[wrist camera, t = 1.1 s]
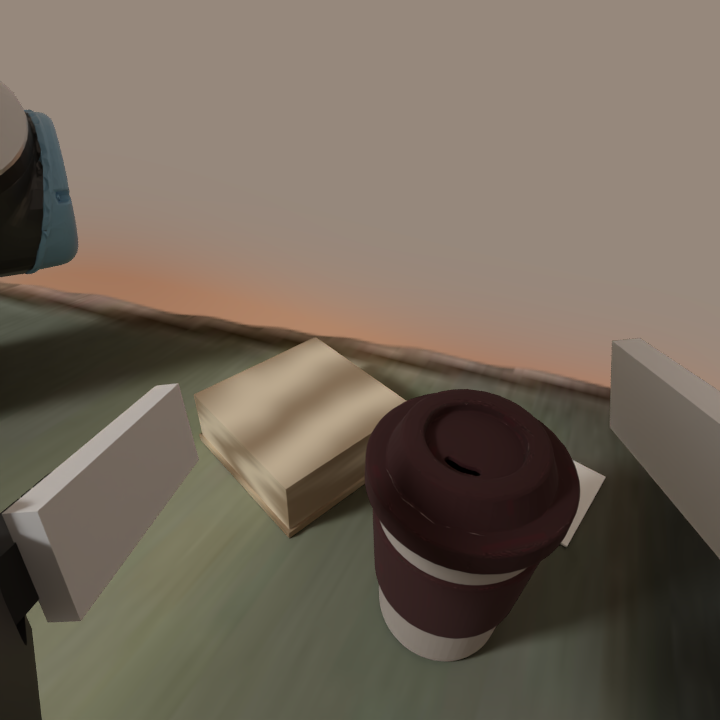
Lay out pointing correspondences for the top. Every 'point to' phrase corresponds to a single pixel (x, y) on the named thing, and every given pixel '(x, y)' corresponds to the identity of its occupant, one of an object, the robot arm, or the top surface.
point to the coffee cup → (462, 515)
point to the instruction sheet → (584, 496)
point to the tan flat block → (295, 430)
